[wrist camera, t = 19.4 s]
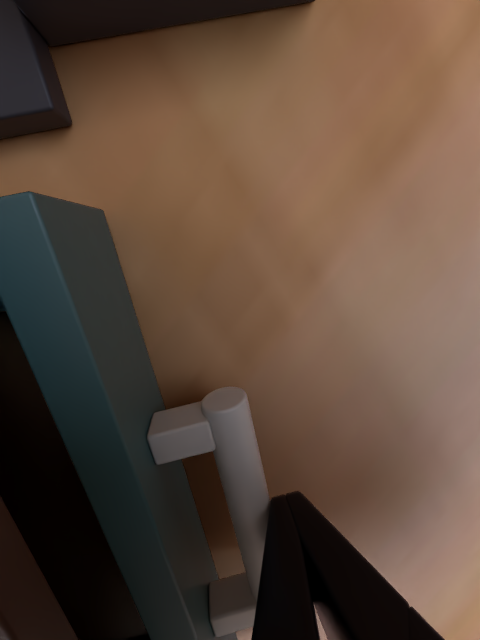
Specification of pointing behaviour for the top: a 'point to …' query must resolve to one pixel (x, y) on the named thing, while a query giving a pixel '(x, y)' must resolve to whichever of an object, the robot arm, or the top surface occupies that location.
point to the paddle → (73, 26)
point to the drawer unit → (26, 591)
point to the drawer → (131, 422)
